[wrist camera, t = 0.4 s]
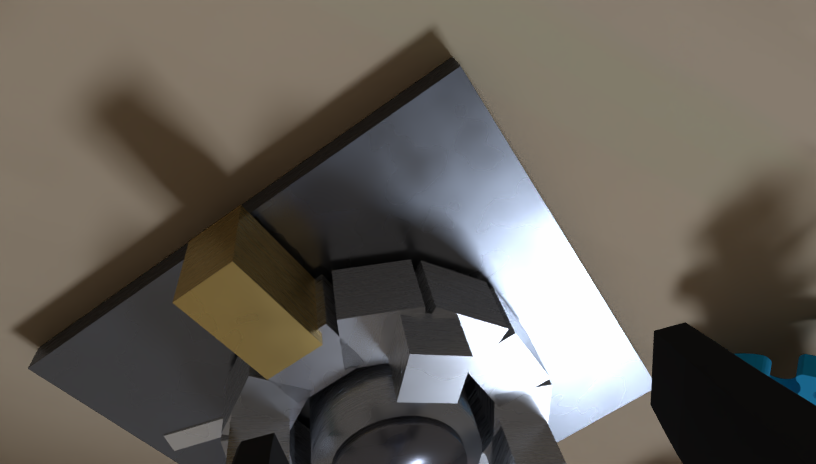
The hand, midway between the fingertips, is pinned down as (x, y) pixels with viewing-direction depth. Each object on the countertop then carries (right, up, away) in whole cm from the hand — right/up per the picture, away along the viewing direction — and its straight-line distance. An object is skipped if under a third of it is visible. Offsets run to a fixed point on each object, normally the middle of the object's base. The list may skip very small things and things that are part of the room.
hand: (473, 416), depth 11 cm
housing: (-2, -2, +12) cm, 13 cm away
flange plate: (-2, -2, +12) cm, 13 cm away
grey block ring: (-3, -1, +10) cm, 11 cm away
